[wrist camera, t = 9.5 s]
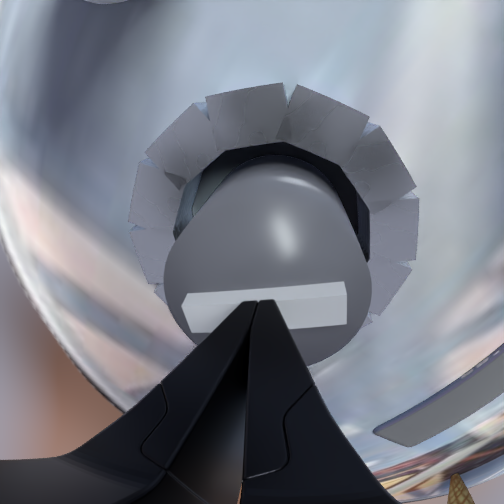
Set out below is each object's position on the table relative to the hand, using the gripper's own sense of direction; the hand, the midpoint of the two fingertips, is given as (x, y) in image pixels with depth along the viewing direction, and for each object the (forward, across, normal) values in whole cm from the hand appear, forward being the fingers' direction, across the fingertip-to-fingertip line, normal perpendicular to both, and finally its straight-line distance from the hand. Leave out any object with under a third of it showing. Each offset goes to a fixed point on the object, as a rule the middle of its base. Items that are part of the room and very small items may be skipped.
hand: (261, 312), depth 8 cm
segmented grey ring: (+6, 0, 0) cm, 6 cm away
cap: (+7, 0, 0) cm, 7 cm away
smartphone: (+7, -14, +18) cm, 24 cm away
